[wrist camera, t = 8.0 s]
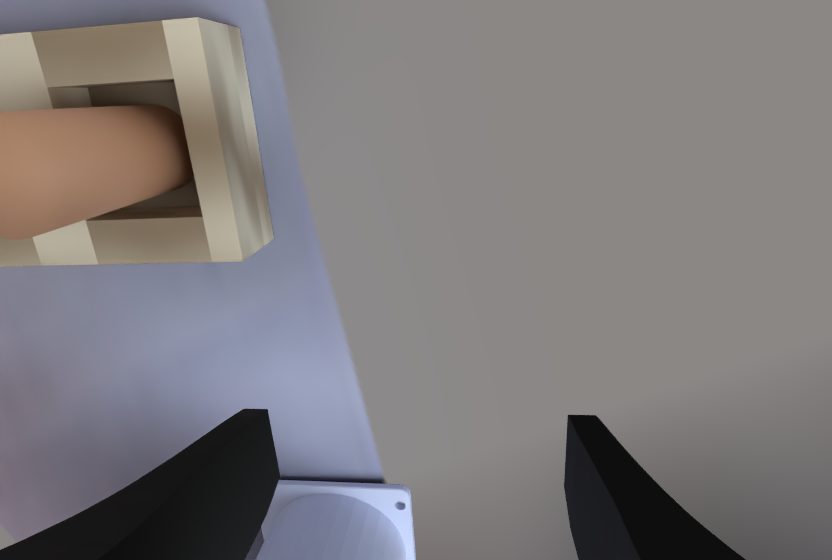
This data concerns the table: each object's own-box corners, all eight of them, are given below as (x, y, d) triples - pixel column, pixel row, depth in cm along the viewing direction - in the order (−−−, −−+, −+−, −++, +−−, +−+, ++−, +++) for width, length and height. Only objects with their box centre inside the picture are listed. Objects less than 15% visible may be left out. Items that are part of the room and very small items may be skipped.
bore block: (273, 238, 21) (243, 261, 19) (-20, 246, 23) (-88, 268, 20) (239, 28, 19) (197, 17, 16) (-91, 55, 20) (-181, 50, 18)
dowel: (206, 190, 20) (73, 240, 13) (129, 190, 20) (-37, 239, 14) (191, 103, 19) (37, 110, 12) (110, 105, 19) (-81, 114, 13)
